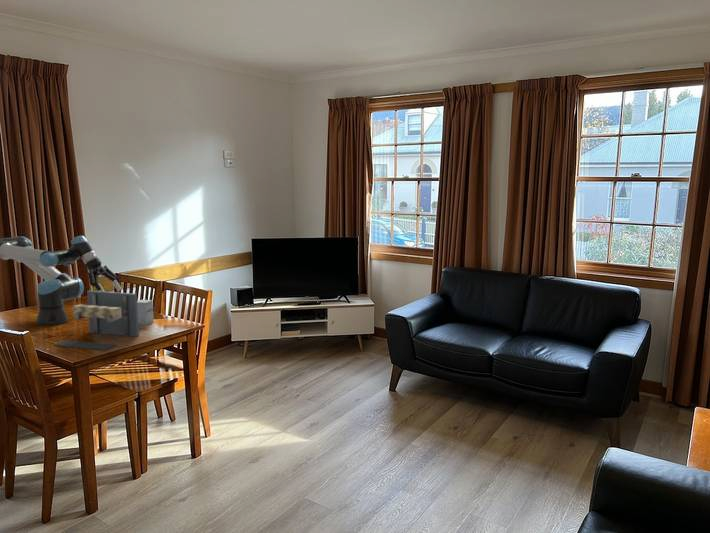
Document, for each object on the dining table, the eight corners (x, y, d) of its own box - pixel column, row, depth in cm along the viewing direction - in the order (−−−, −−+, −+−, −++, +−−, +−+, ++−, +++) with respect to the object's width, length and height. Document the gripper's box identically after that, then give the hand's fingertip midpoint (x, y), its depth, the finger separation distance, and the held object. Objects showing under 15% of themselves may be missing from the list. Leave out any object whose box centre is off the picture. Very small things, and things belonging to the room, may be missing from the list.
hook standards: (76, 340, 260) (73, 299, 256) (96, 332, 273) (93, 293, 270) (111, 343, 255) (109, 301, 252) (130, 335, 269) (127, 295, 265)
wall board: (89, 332, 274) (87, 291, 271) (91, 331, 275) (89, 290, 272) (137, 336, 268) (134, 294, 264) (138, 335, 269) (136, 293, 266)
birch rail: (74, 315, 260) (73, 306, 259) (80, 313, 264) (79, 304, 263) (116, 319, 255) (115, 309, 254) (121, 317, 258) (121, 307, 258)
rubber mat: (53, 345, 251) (53, 344, 250) (66, 341, 258) (66, 339, 258) (104, 350, 245) (104, 349, 244) (116, 345, 252) (115, 344, 252)
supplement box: (146, 325, 289) (145, 302, 287) (134, 324, 291) (133, 302, 289) (154, 321, 296) (153, 300, 294) (142, 320, 298) (141, 299, 296)
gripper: (80, 260, 282) (101, 293, 282) (111, 254, 306) (130, 285, 306) (70, 267, 284) (91, 300, 284) (102, 261, 308) (121, 291, 308)
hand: (112, 292), depth 295 cm, fingers open, 13 cm apart
